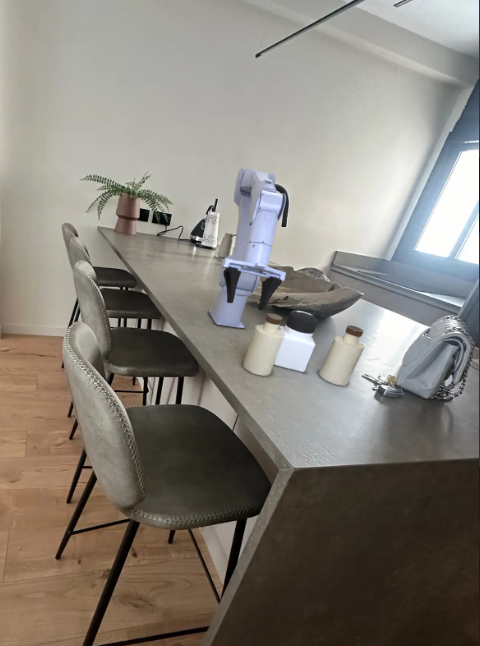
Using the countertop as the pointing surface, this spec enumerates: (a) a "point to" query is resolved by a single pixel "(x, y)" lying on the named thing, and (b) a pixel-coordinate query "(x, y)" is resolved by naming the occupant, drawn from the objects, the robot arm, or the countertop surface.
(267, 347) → the cream bottle near
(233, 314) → the robot arm
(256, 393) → the countertop surface
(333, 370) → the cream bottle far
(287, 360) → the medicine bottle
